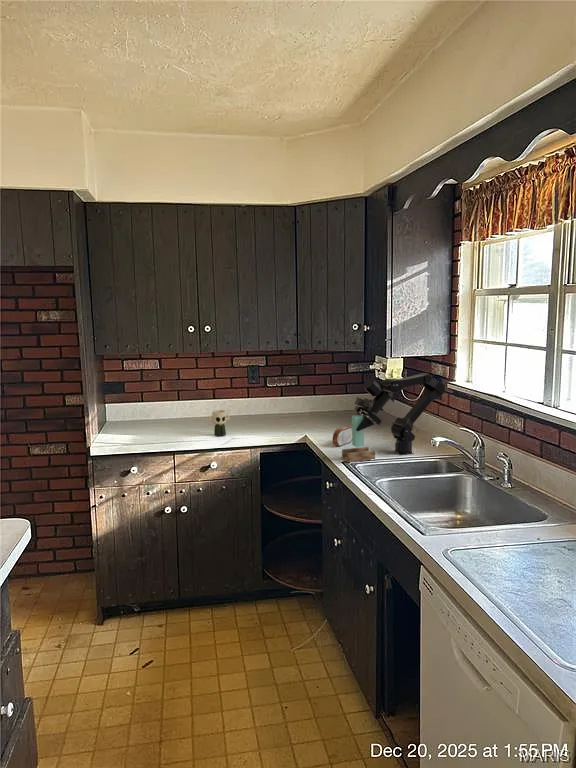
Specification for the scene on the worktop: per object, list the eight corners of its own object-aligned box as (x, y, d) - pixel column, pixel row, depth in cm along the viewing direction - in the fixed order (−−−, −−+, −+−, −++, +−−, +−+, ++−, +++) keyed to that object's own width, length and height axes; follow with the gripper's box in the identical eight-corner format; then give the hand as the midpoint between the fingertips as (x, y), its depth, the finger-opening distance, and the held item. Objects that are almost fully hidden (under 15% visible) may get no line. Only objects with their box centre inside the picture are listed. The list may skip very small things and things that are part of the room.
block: (360, 443, 251) (360, 414, 250) (364, 446, 248) (363, 416, 246) (352, 444, 250) (351, 415, 249) (355, 446, 247) (355, 417, 245)
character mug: (211, 438, 296) (210, 413, 295) (208, 435, 303) (207, 411, 301) (232, 435, 301) (231, 411, 299) (228, 432, 307) (227, 409, 305)
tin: (349, 440, 283) (349, 424, 281) (354, 441, 281) (354, 424, 279) (332, 447, 271) (331, 430, 270) (337, 448, 269) (337, 430, 268)
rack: (367, 455, 255) (367, 446, 255) (374, 460, 247) (374, 451, 247) (342, 458, 252) (342, 449, 252) (348, 463, 244) (348, 454, 244)
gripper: (357, 387, 255) (335, 413, 254) (374, 394, 238) (350, 422, 236) (374, 403, 259) (352, 429, 257) (392, 411, 241) (368, 439, 240)
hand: (355, 429), depth 248 cm, fingers closed on block, 4 cm apart
